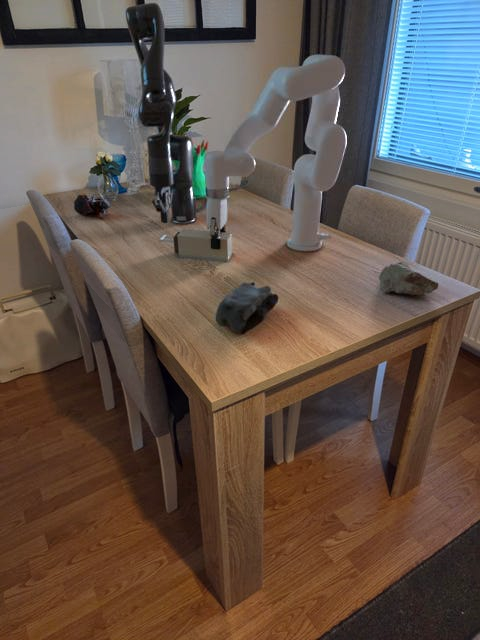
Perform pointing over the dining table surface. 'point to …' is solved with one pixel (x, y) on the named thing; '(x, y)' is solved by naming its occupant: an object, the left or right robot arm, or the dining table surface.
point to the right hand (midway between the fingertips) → (218, 244)
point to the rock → (245, 307)
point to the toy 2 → (197, 170)
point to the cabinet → (203, 245)
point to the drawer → (170, 241)
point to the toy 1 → (90, 206)
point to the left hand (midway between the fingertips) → (165, 222)
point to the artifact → (405, 280)
